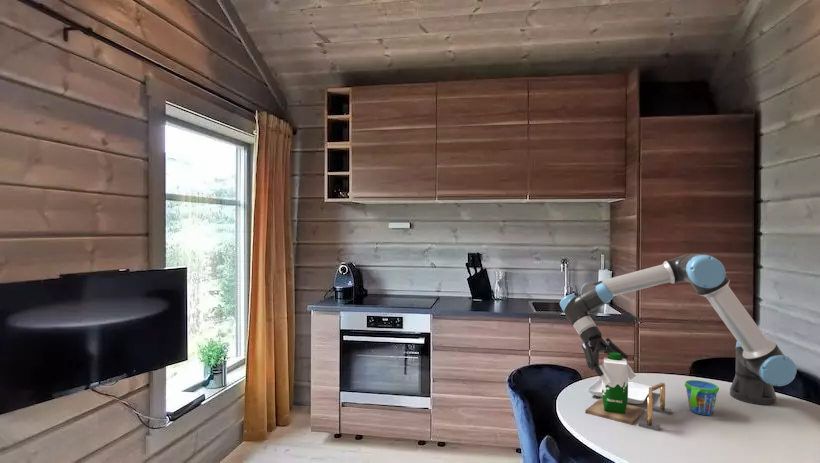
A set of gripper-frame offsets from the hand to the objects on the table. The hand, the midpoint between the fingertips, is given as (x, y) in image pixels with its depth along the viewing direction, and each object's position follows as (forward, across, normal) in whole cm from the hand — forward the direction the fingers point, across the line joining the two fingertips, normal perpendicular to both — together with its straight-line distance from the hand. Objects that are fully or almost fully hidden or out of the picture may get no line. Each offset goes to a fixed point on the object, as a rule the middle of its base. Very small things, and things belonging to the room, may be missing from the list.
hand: (621, 380), depth 178 cm
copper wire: (+15, -7, -2) cm, 17 cm away
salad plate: (0, -17, -18) cm, 25 cm away
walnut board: (+7, 0, -10) cm, 12 cm away
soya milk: (+6, 0, -10) cm, 12 cm away
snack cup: (+18, -28, 0) cm, 33 cm away
